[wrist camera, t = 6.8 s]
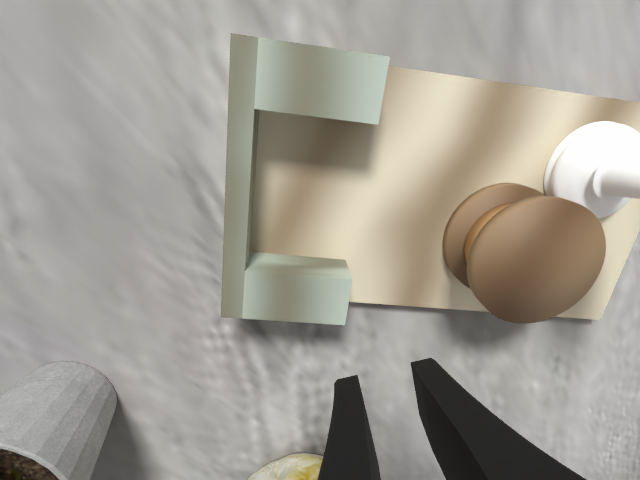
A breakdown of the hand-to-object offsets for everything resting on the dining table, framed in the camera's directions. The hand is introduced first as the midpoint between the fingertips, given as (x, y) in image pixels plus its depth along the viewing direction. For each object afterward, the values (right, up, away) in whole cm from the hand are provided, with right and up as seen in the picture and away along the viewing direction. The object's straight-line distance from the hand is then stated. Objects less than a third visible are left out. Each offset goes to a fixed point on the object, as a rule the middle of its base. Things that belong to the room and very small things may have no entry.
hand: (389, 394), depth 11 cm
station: (+5, +7, +9) cm, 12 cm away
